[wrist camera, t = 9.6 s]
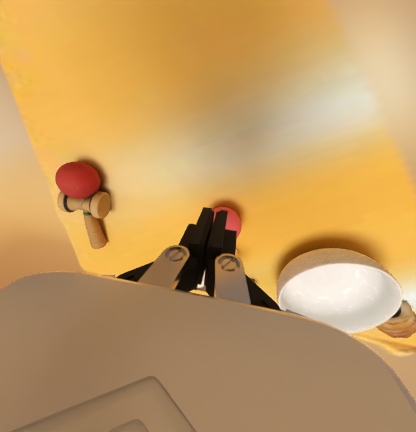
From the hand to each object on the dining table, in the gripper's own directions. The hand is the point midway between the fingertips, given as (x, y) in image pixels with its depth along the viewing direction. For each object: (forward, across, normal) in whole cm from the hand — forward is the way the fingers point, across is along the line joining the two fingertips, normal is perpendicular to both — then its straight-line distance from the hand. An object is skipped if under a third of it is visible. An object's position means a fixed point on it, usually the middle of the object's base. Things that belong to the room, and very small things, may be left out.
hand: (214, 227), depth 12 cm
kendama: (+18, +25, +10) cm, 32 cm away
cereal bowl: (+17, -19, +18) cm, 31 cm away
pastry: (+18, -36, +26) cm, 47 cm away
